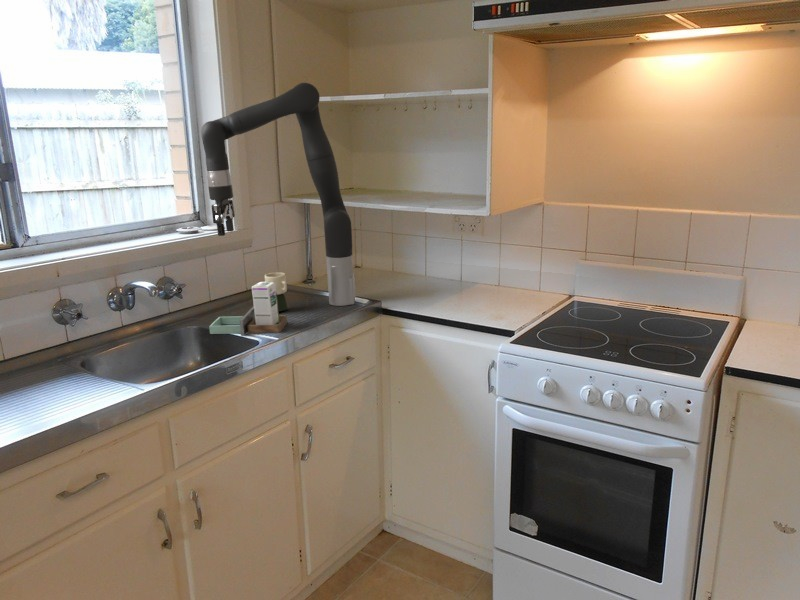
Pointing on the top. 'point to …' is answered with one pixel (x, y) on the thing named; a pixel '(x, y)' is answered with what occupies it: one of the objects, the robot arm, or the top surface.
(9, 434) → the top surface
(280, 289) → the character mug
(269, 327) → the brown wooden tray
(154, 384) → the top surface
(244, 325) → the door edge plate
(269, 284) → the syrup box
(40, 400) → the top surface
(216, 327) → the tray
